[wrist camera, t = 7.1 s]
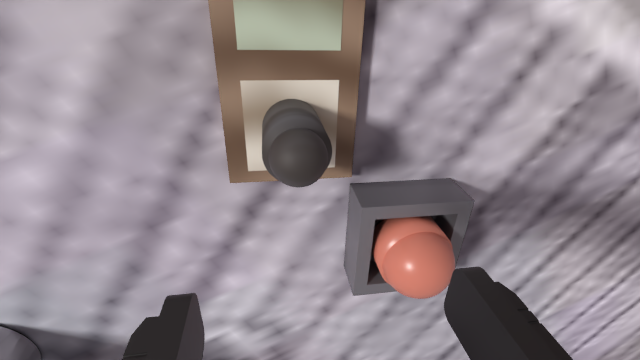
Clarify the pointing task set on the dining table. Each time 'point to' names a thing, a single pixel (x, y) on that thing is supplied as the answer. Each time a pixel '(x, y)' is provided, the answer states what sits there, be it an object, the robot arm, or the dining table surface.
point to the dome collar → (398, 202)
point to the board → (286, 73)
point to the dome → (413, 255)
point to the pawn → (295, 143)
